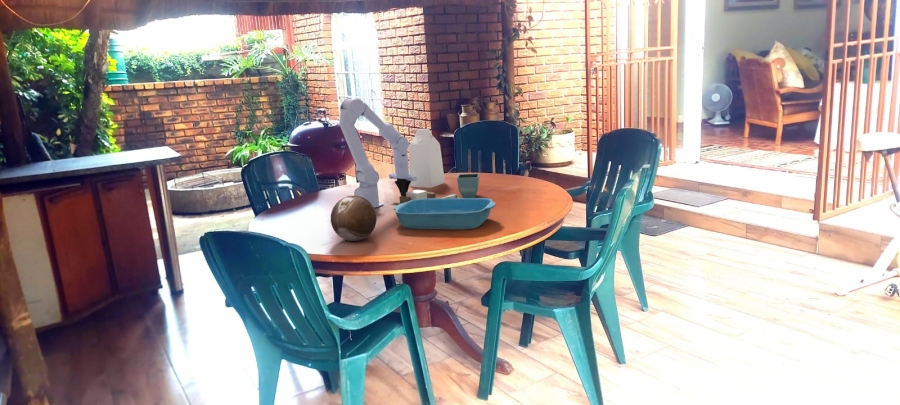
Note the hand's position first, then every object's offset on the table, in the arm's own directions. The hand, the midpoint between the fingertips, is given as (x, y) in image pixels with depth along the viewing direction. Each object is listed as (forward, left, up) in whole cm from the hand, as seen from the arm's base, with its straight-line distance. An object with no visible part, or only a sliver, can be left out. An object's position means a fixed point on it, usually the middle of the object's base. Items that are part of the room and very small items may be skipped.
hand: (404, 196), depth 267 cm
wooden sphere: (-51, -29, -2) cm, 59 cm away
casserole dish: (-20, -41, -2) cm, 46 cm away
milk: (+29, +15, -2) cm, 32 cm away
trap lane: (0, -13, -2) cm, 14 cm away
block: (0, -7, -2) cm, 8 cm away
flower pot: (+17, -21, -2) cm, 27 cm away
